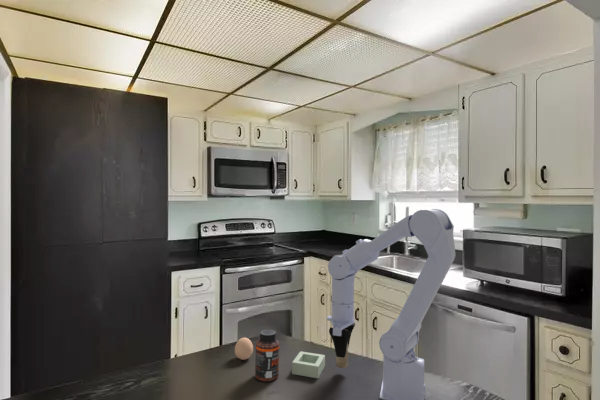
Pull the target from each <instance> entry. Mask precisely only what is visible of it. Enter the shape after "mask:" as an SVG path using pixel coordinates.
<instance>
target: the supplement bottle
mask: <svg viewBox="0 0 600 400" xmlns="http://www.w3.org/2000/svg"><path fill="white" fill-rule="evenodd" d="M276 332H277V331H276V330H273V329H264V330H261V331H260V332H259V339H257V341H256V342H255V364H254V365H255V366H254V367H255V369H254V370H255V371H254V373H255V374H254V376H255V378H256V379H257V380H259V381H260V382H272V381H275V380H276V379H277V378H278V377H279V372H280V340H278V339H277V333H276Z"/></svg>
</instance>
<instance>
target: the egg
mask: <svg viewBox="0 0 600 400" xmlns="http://www.w3.org/2000/svg"><path fill="white" fill-rule="evenodd" d="M234 353H235V356H236V357H237V359H239V360H242V361H243V360H244V361H245V360H248V359H249V358H250V357H251V356H252V355H253V353H254V344H253V343H252V341H251V340H250V339H249V338H248V337H241V338H239V340H237V342H236V344H235V346H234Z"/></svg>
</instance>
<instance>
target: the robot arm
mask: <svg viewBox="0 0 600 400" xmlns="http://www.w3.org/2000/svg"><path fill="white" fill-rule="evenodd" d="M454 227H455V226H454V224H453V222H452V221H451V218H450V217H449V215H448V214H447V213H446V212H445V211H444V210H442V209H438V208H432V209H420V210H417V211H415V212H414V213H413V214H410V215H407V216H405V217H404V218H402V219H400V220H398V222H396V223H395V224H393V225H392V226H390V227H389V228H388V229H386V230H385V231H383V232H381V233H380V234H379V235H377V236H376V237H375V238H374V239H372V240H371V239H368V238H365V239H361V238H360V239H358V240H356V241H355V245H353V246H352V247H351V248H349V249H343V250H342V254H341V255H334V256H332V258H330V260H329V261H328V264H327V269H328V273H329V275H330V276H331V315H328V316H327V317H326V321H328V322H331V326H332V327H329V330H328V334H329V335H330V337H331V339H332V342H333V346H334V350H335V351H334V352H335V357H336V356H337V357H341V358H345V355H346V350H347V344H348V348H349V347H350V346H349V345H350V341H351V336H352V333H353V331H354V328H355V327H356V323H355V318H354V317H355V315H354V314H355V313H354V312H355V311H354V309H355V307H354V306H355V276H356V274H357V273H358V271H360V270H361V269H364V268H365V267H366V266H368V265H370V264H371V263H373V262H375V261H376V260H378V259H379V257H380V252H381V251H383V250H385V249H387V248H388V247H390V246H392V245H393V244H396V243H397V242H398V241H400V240H402V239H404V238H412V237H415V238H416V239H417V240H418V241H419V242H420V243H421V244H422V245H423V247H424V249H425V251H426V254H427V259H426V261H425V263H424V264H423V266H422V268H421V271H420V272H419V275H418V276H417V279H416V281H415V282H414V285H413V287H412V289H411V291H410V293H409V295H408V297H407V299H406V301H405V303H404V304H403V307H402V309H401V311H400V313H399V314H398V316H397V318H396V319H395V320H394V322H393V323H392V324H391V326H390V328H389V329H388V330H387V331H386V332H384V333H383V334H381V336H380V338H379V340H378V341H379V342H378V344H379V348H380V351H381V353H382V354H383V358H382V359H383V360H382V361H383V362H382V363H383V364H382V366H383V367H382V380H381V387H380V393H379V398H380V400H425V394H426V384H425V359H424V358H421V357H418V356H416V352H415V347H416V346H418V344H419V340H420V330H421V329H422V323H423V320H424V318H425V316H426V315H427V314H428V313H427V312H428V311H429V309H430V307H431V304H432V303H433V301H434V299H435V297H436V295H437V293H438V292H439V290H440V288H441V287H442V286H441V285H442V284H443V282H444V280H445V278H446V276H447V275H448V272H449V270H450V269H451V266H452V265H453V263H454V261H455V259H456V256H457V255H456V245H455V239H454V237H455V236H454ZM345 329H346V330H348V331H345Z"/></svg>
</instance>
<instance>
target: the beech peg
mask: <svg viewBox="0 0 600 400" xmlns="http://www.w3.org/2000/svg"><path fill="white" fill-rule="evenodd" d="M345 331H348V330H346V329H345ZM348 359H349V347H348V344H347V350H346V355H345V358H341V357H337V356H336V355H335V366H336V368H339V369H346V368H347V367H349V366H348V364H349V361H348Z"/></svg>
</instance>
